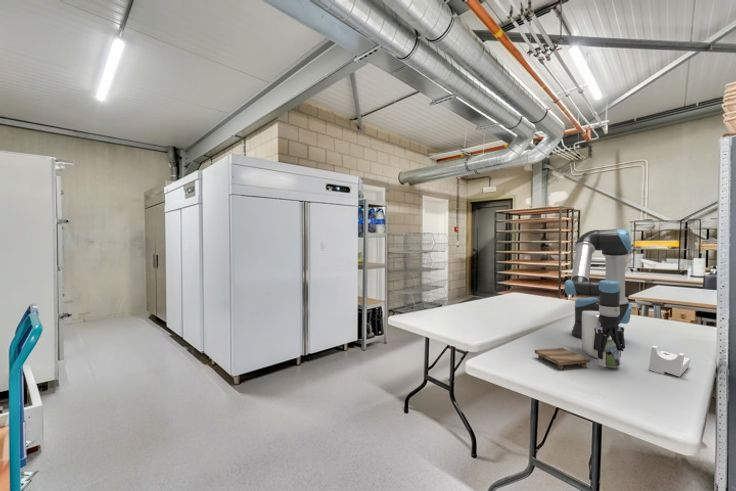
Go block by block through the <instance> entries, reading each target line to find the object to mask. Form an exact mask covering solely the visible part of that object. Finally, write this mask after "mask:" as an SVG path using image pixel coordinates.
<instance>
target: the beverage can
mask: <svg viewBox="0 0 736 491" xmlns="http://www.w3.org/2000/svg"><path fill="white" fill-rule="evenodd" d="M604 352H605V367H607V368H613V369H614V368H618V367H619V366H621V363H620V364H619V359H618V353H617V348H616V344H615V342H614V341H613V340H611V339H608V340H607V343H606V346H605V349H604Z"/></svg>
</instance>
